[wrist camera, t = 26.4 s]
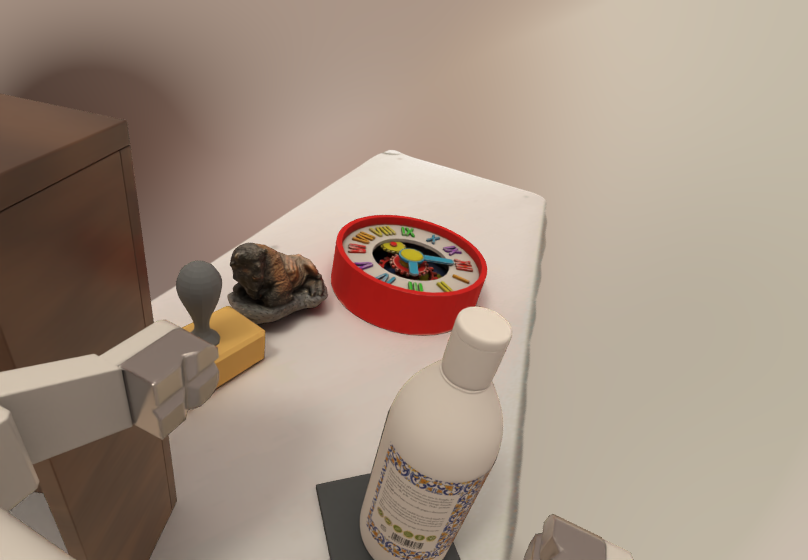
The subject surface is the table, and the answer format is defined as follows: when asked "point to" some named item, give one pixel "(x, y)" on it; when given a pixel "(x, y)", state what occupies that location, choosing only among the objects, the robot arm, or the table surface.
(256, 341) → the rubber stamp
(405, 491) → the bath foam
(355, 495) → the pad
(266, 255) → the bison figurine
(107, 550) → the cabinet
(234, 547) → the table surface
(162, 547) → the table surface
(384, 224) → the toy clock
